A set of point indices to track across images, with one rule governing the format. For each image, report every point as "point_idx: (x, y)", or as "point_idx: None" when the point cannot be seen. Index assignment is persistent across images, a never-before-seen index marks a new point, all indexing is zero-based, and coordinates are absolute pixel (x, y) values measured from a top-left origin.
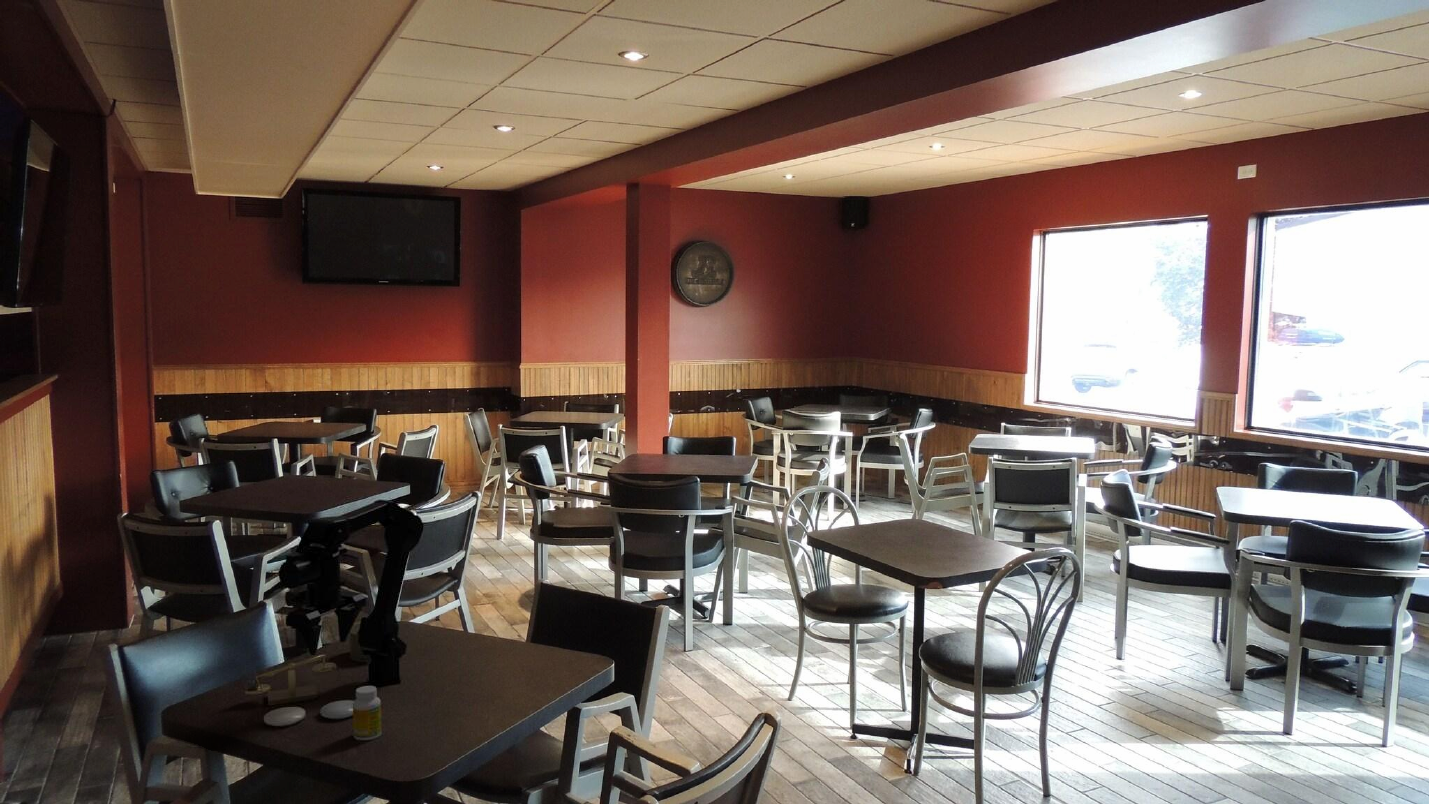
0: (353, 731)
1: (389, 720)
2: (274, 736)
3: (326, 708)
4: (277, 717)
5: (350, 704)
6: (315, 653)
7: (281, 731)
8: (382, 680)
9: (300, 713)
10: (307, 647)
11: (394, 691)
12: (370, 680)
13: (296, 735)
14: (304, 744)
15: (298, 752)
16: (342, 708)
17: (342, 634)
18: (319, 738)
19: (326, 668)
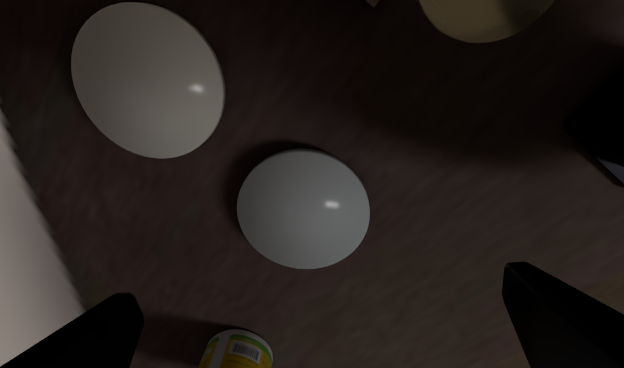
0: (206, 349)
1: (336, 340)
2: (73, 159)
3: (272, 179)
4: (114, 87)
5: (339, 223)
6: (135, 335)
7: (106, 148)
8: (606, 150)
9: (189, 133)
10: (45, 339)
11: (541, 222)
12: (599, 100)
13: (123, 209)
14: (110, 268)
15: (77, 287)
16: (300, 225)
17: (542, 345)
18: (156, 273)
19: (464, 9)
